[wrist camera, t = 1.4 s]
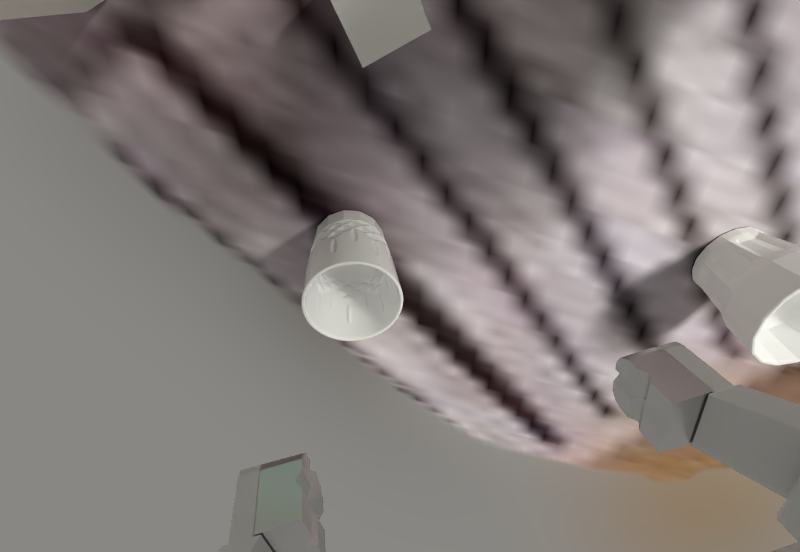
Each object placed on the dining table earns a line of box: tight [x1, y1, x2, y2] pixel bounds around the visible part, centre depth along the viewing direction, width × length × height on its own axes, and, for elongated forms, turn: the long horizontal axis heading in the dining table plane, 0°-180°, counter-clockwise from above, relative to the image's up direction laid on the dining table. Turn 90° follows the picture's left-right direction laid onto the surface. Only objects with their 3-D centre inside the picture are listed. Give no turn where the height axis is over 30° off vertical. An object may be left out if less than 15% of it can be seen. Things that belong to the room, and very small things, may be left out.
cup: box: [692, 227, 800, 366], centre depth 44 cm, size 12×12×11 cm
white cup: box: [301, 210, 403, 341], centre depth 36 cm, size 8×8×10 cm
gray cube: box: [330, 0, 431, 68], centre depth 27 cm, size 5×5×5 cm
